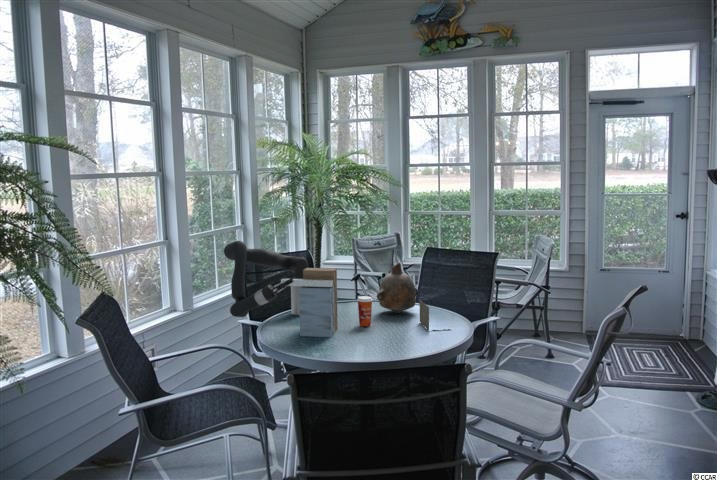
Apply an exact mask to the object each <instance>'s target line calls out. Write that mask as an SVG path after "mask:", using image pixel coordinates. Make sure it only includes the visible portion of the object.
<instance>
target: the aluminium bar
mask: <svg viewBox="0 0 717 480" xmlns="http://www.w3.org/2000/svg"><path fill="white" fill-rule="evenodd" d="M289 279H290V278H281V279H280V283H283V282H285V281H287V280H289ZM292 280H293V283H291V284H289V285H287V286H286V287H291V286H312V287H332V286H333V280H321V279H292Z"/></svg>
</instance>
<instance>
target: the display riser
mask: <svg viewBox="0 0 717 480" xmlns="http://www.w3.org/2000/svg"><path fill="white" fill-rule="evenodd" d="M303 279H321V280H333V286H332V287H312V286H302V287H301V288H299V310H300V315H299V336H301V337H315V338H316V337H317V338H318V337H321V338H332V337H333V336H334V334H335V333H336V332H337V331H338V328H339V327H338V269H337V268H330V267H329V268H328V267H327V268H325V267H321V268H320V267H308V268H306V269H304V270H303Z"/></svg>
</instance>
